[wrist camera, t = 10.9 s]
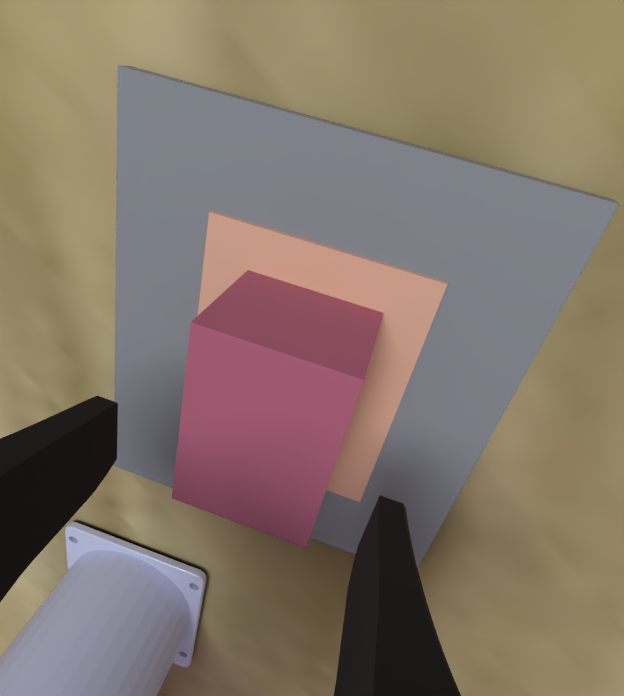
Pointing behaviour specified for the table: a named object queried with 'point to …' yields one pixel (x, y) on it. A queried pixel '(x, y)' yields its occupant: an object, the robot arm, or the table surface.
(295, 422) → the pink rectangular block
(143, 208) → the mat
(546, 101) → the table surface
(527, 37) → the table surface
